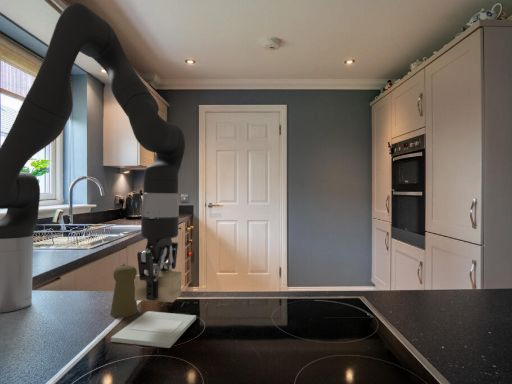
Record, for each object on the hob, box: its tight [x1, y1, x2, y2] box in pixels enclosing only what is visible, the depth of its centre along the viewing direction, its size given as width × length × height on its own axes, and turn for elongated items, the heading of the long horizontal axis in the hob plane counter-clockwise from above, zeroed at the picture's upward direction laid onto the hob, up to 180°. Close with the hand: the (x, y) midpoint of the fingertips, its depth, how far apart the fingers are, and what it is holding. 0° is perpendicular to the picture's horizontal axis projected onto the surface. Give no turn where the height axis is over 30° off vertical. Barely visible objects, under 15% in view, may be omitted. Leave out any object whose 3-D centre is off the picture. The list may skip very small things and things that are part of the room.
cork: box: [109, 265, 139, 318], centre depth 75 cm, size 6×6×11 cm
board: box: [110, 310, 197, 349], centre depth 66 cm, size 12×14×1 cm
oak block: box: [134, 270, 182, 303], centre depth 67 cm, size 8×5×5 cm, turn 84°
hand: (158, 294), depth 67 cm, fingers closed on oak block, 5 cm apart
